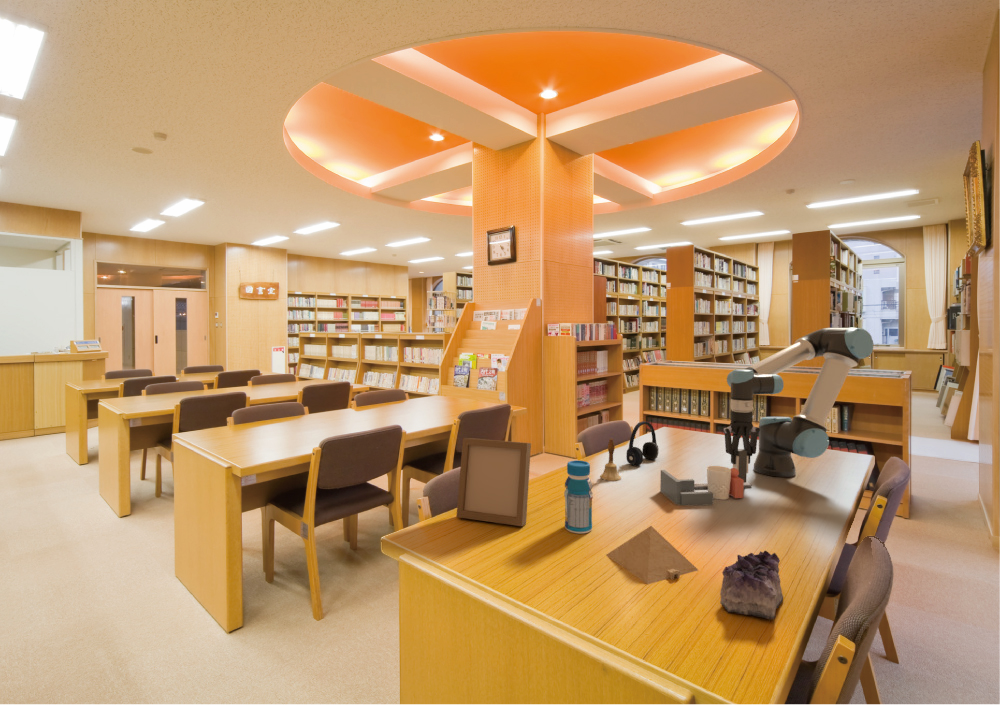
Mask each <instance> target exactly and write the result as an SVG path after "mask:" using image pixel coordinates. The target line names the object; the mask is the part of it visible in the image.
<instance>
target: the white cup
mask: <svg viewBox="0 0 1000 705" xmlns="http://www.w3.org/2000/svg"><path fill="white" fill-rule="evenodd" d="M706 476H707V479H706V480H707V481H706V482H707V483H706V484H708V489H707V492H712V493H713V499H716V500H728V499H729V498H730V495H729V491H730V483H731V468H729V467H726V466H722V465H721V466H720V465H709V466H707V467H706Z"/></svg>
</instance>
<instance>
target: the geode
mask: <svg viewBox="0 0 1000 705" xmlns="http://www.w3.org/2000/svg"><path fill="white" fill-rule="evenodd" d="M780 561H781V560H780V558H779V556H778V555H777V554H776V552H774V553H772V554H771V553H770V552H769V551H768V550H764V551H759V553H757V554H754V553H753V552H750V553H748V554H747V555H743V556H742V555H741V554H737V560H736V561H735V563H733V564H731V565H728V566H725V567H724V569H723V570H722V572H721V573H722V575H723V577H722V583H721V588H720V591H719V592H720V605H721V606H722V607H723V608H724V609H725V611H726V612H727V613H735V614H740V615H745V616H747V615H748V616H753V617H758V618H762V619H766V620H775V619H776V609H779V606H780V605H781V604H782V603H783V602H784V595H783V592H782V591H783V590H782V586H781V578H780V576H781V575H780V574H779V572H780V568H779V564H780Z"/></svg>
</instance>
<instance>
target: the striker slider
mask: <svg viewBox="0 0 1000 705" xmlns="http://www.w3.org/2000/svg"><path fill="white" fill-rule="evenodd" d="M737 456H739V471H738V470H737V469H736V468H733V467H732V468H730V469H731V483H730V491H729V496H731V497H733V498H734V499H744V489H745V488H744V483H746V482H747V474H748V473H747V451H746V450H744V448H738V451H737Z"/></svg>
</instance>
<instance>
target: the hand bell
mask: <svg viewBox="0 0 1000 705" xmlns="http://www.w3.org/2000/svg"><path fill="white" fill-rule="evenodd" d="M608 440H609V441H608V444H607V451H608V462H607V463H605V465H604V470H603V472H602V474H600V479H601V480H603V481H609V482H618V481H620V480H622V477H621V475H620V474H619V473H618V467H617V464H616V463H614V453H615V446H616V445H615V441H614V439H613V438H609V439H608Z"/></svg>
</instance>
